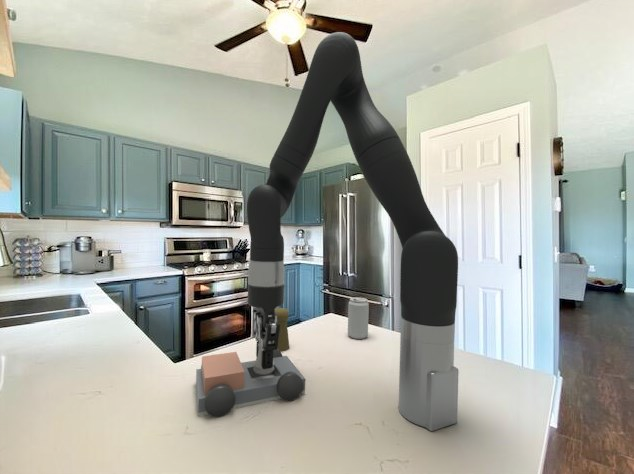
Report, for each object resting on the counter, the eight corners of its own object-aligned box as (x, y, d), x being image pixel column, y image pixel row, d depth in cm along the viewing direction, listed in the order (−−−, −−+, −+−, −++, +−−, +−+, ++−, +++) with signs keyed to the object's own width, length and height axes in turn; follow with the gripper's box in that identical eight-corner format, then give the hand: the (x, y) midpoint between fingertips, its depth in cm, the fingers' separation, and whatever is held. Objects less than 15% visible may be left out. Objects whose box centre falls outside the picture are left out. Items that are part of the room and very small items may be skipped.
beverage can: (343, 334, 95) (344, 297, 95) (360, 332, 98) (361, 296, 98) (354, 341, 89) (355, 301, 89) (371, 338, 92) (372, 300, 92)
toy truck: (308, 397, 58) (308, 367, 58) (198, 421, 50) (199, 386, 50) (284, 365, 72) (284, 340, 72) (195, 380, 64) (196, 352, 64)
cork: (278, 353, 79) (279, 312, 79) (263, 347, 82) (264, 308, 82) (293, 347, 84) (294, 308, 83) (278, 341, 87) (279, 304, 87)
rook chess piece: (276, 366, 64) (277, 330, 64) (271, 376, 60) (272, 337, 59) (256, 365, 64) (257, 328, 64) (250, 374, 60) (251, 335, 60)
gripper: (294, 287, 57) (292, 375, 57) (274, 276, 70) (272, 348, 70) (255, 289, 54) (253, 382, 54) (242, 277, 67) (240, 352, 67)
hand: (264, 362), depth 62 cm, fingers closed on rook chess piece, 4 cm apart
